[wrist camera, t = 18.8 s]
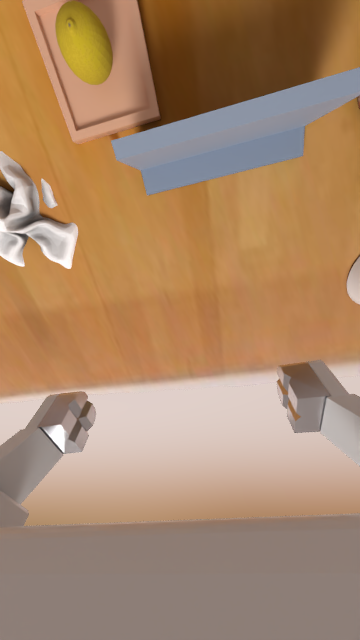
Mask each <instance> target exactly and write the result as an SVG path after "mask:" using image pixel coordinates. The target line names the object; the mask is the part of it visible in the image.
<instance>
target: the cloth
mask: <svg viewBox="0 0 360 640" xmlns="http://www.w3.org/2000/svg"><path fill="white" fill-rule="evenodd" d="M0 169H1V171H2V173H3V175H4V177H5V178H6V180H7V182H8V183H9V184H10V185H11V186H12V187H13V188H14V189H15V191H14V193H12V192H10V191H8V190H6V189H5V188H3V187H1V186H0V256H2V257H3V258H5V259H6V260H8V261H9V262H11V263H14V264H16V265H18V266H24V265H25V264H24V261H23V256H22V253H23V249H24V246H25V244H26V242H27V239H28V236H30V237H31V238H32V239H34V240H35V241H36V242H37V243H38V244H39V245H40V246H41V251H42V252H43V253H44V255H45V256H46V257H47V258H49V259H50V260H52V261H54V262H57V263H60V264H61V265H63V266H64V267H66V268H68V269H70V268H71V266H72V260H73V255H74V251H75V245H76V240H77V236H78V228H77V226H76V224H74V223H69V224H61V223H58V222H56V221H54V220H52V219H49V218H43V217H42V216H41V215H40V214H39V195H38V191H37V188H36V186H35V184H34V182H33V181H32V179H31V178H30V177H29V176H28V175H27V174H26V173H25V172H24V171H23V169H22V167H21V166H20V165H19V164H17V163H16V162H15V161H14V160H12V159H11V158H10V157H8V156H7V155H6V154H4V153H3V152H2V151H0ZM41 181H42V193H43V200H44V202H45V203H46V205H47V206H48V207H50V208H53V207H55V206H57V202H56V200H55V198H54V195H53V192H52V190H51V187H50V185H49V184H48V183H47V182H45V181H44V180H43V179H41Z"/></svg>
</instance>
